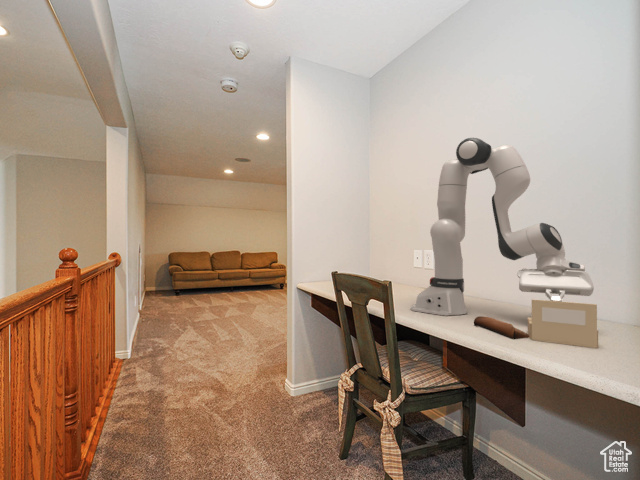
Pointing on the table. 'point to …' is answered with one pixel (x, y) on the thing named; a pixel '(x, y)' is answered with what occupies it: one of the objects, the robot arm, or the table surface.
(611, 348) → the table surface
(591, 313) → the flap
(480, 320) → the brown tapered cylinder
